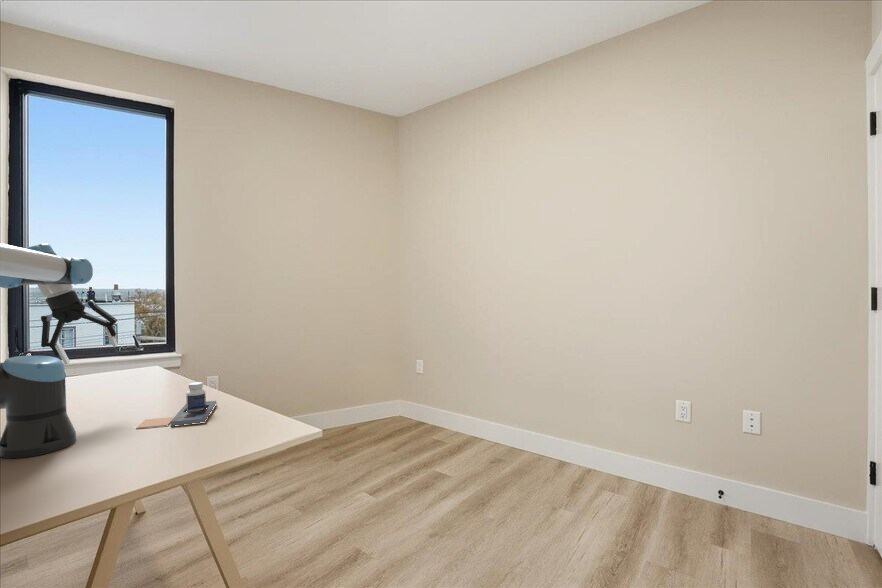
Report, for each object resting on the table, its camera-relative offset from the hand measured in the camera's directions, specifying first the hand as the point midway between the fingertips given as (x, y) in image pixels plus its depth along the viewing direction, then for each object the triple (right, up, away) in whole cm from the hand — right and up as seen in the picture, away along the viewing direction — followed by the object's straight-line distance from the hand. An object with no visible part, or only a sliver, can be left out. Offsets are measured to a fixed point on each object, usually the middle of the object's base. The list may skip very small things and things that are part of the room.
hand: (92, 354), depth 147 cm
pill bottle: (+34, -19, -1) cm, 39 cm away
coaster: (+27, -19, -10) cm, 35 cm away
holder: (+35, -19, -3) cm, 39 cm away
